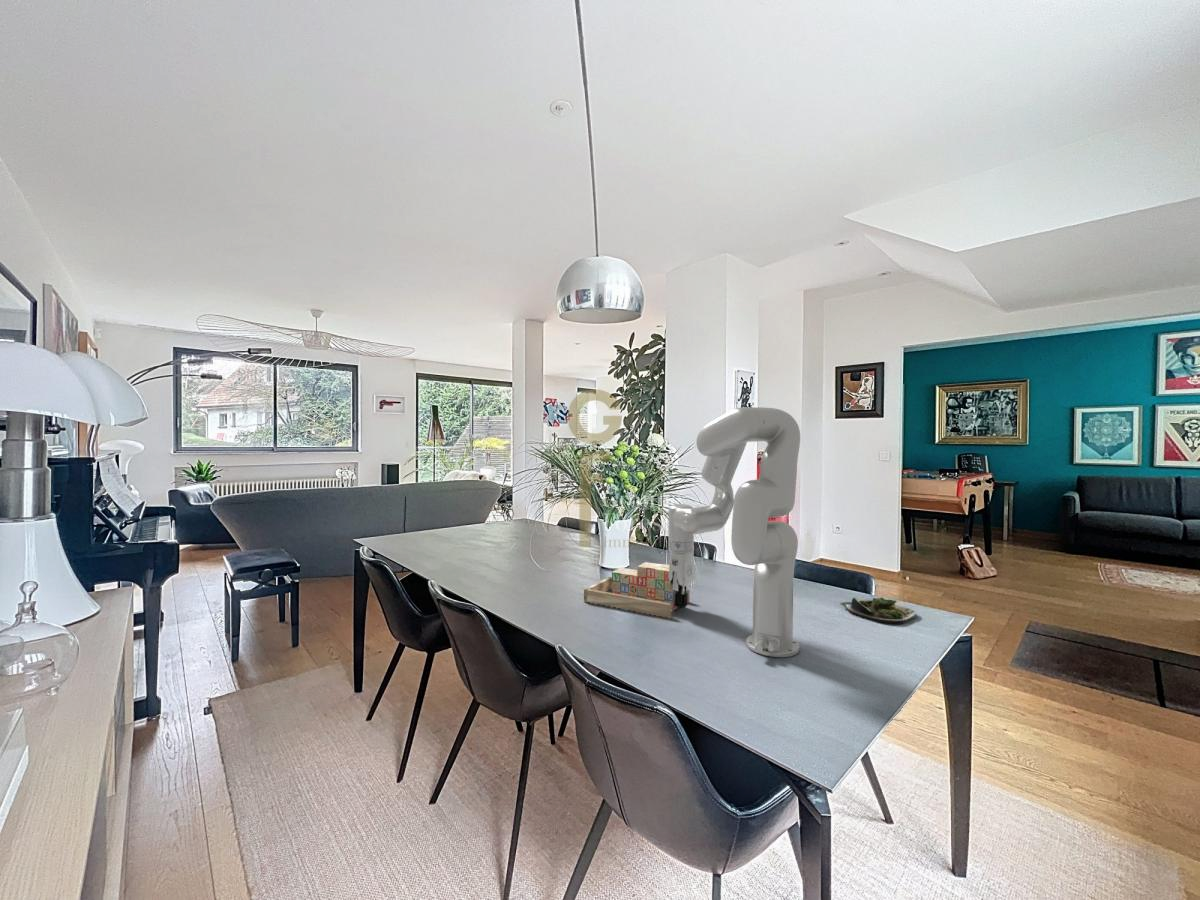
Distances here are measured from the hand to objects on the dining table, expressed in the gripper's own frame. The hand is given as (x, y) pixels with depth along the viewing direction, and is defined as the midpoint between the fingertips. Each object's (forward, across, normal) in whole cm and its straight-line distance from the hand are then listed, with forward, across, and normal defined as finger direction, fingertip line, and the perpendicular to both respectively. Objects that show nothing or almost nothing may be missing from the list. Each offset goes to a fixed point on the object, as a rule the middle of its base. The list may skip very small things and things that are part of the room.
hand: (681, 605), depth 156 cm
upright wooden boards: (+1, 0, +15) cm, 15 cm away
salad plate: (+2, +26, -52) cm, 58 cm away
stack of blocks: (+2, +1, +12) cm, 12 cm away
